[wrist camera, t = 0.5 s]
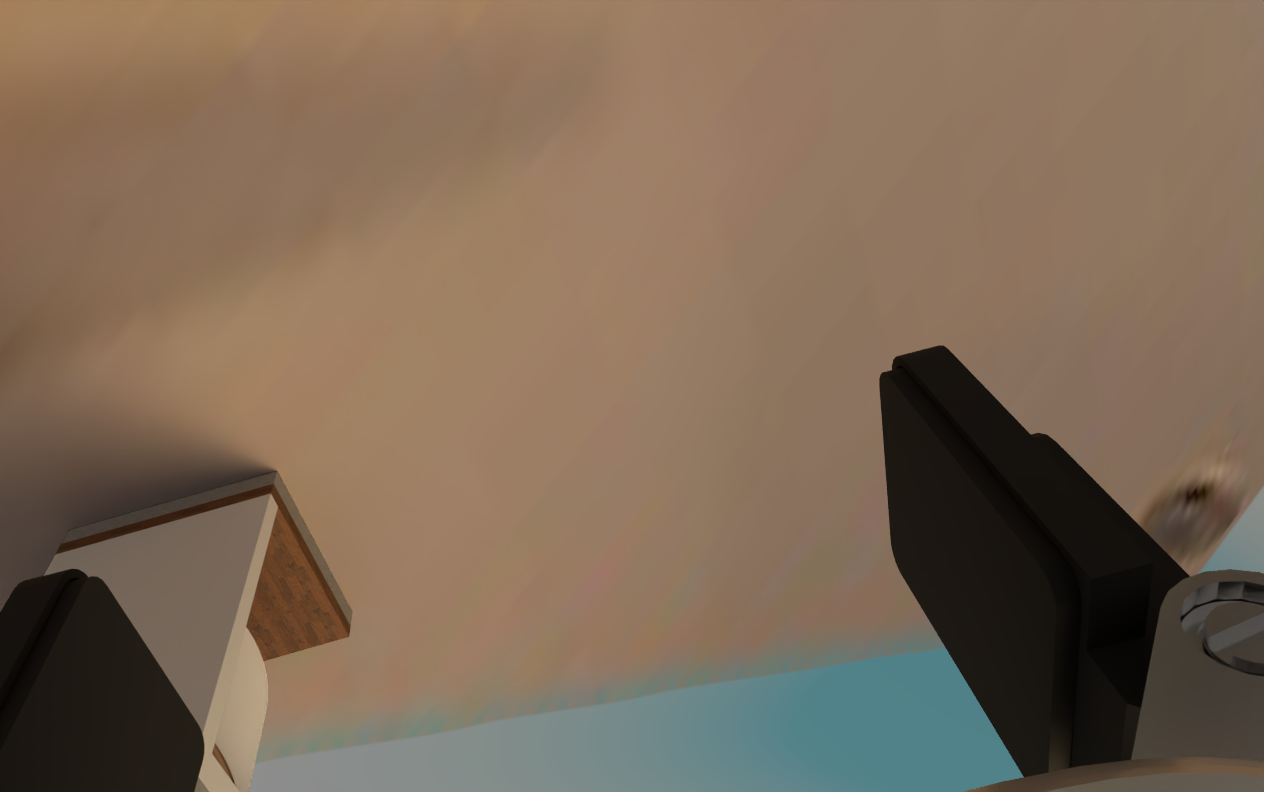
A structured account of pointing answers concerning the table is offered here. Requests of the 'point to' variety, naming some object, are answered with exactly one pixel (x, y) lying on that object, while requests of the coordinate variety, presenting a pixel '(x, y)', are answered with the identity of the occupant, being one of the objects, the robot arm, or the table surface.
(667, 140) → the table surface
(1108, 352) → the table surface
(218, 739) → the display case
